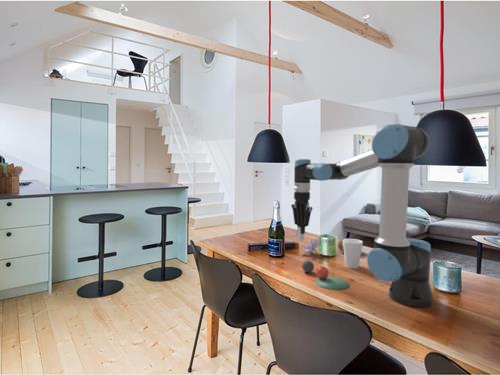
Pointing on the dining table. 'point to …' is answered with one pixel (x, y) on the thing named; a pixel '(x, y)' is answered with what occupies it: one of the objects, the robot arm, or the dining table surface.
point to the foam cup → (352, 252)
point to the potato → (340, 245)
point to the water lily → (312, 246)
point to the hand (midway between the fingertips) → (300, 239)
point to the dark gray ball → (308, 266)
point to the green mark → (332, 283)
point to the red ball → (322, 272)
